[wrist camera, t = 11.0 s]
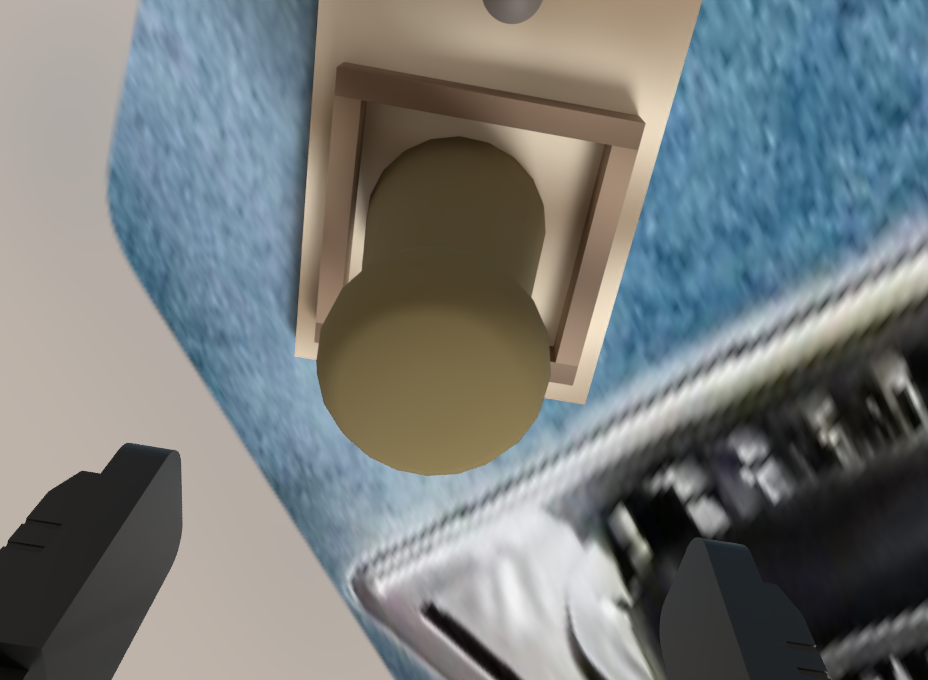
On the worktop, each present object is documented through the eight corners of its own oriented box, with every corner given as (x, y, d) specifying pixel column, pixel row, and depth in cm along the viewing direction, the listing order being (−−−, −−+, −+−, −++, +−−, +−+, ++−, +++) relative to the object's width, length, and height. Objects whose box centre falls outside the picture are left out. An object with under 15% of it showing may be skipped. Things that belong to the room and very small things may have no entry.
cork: (504, 331, 26) (508, 551, 17) (344, 273, 26) (250, 468, 16) (576, 177, 24) (630, 331, 14) (399, 107, 23) (325, 218, 13)
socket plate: (336, -149, 21) (303, -171, 17) (715, -75, 21) (758, -82, 18) (301, 343, 28) (272, 399, 25) (582, 390, 29) (593, 452, 25)
